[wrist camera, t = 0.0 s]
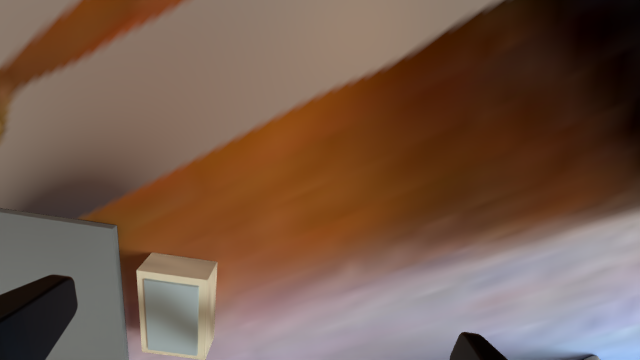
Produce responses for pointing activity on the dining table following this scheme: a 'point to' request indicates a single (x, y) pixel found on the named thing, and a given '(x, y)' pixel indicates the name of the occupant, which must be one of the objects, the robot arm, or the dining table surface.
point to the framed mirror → (177, 305)
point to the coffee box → (592, 358)
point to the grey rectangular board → (77, 262)
